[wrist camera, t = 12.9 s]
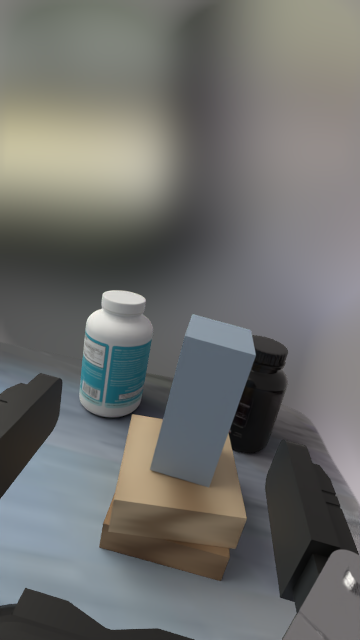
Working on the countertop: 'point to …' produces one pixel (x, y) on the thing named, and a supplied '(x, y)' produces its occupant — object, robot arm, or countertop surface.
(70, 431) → the countertop surface
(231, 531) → the tower top
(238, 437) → the supplement bottle
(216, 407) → the pillar
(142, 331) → the pill bottle
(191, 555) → the tower base
